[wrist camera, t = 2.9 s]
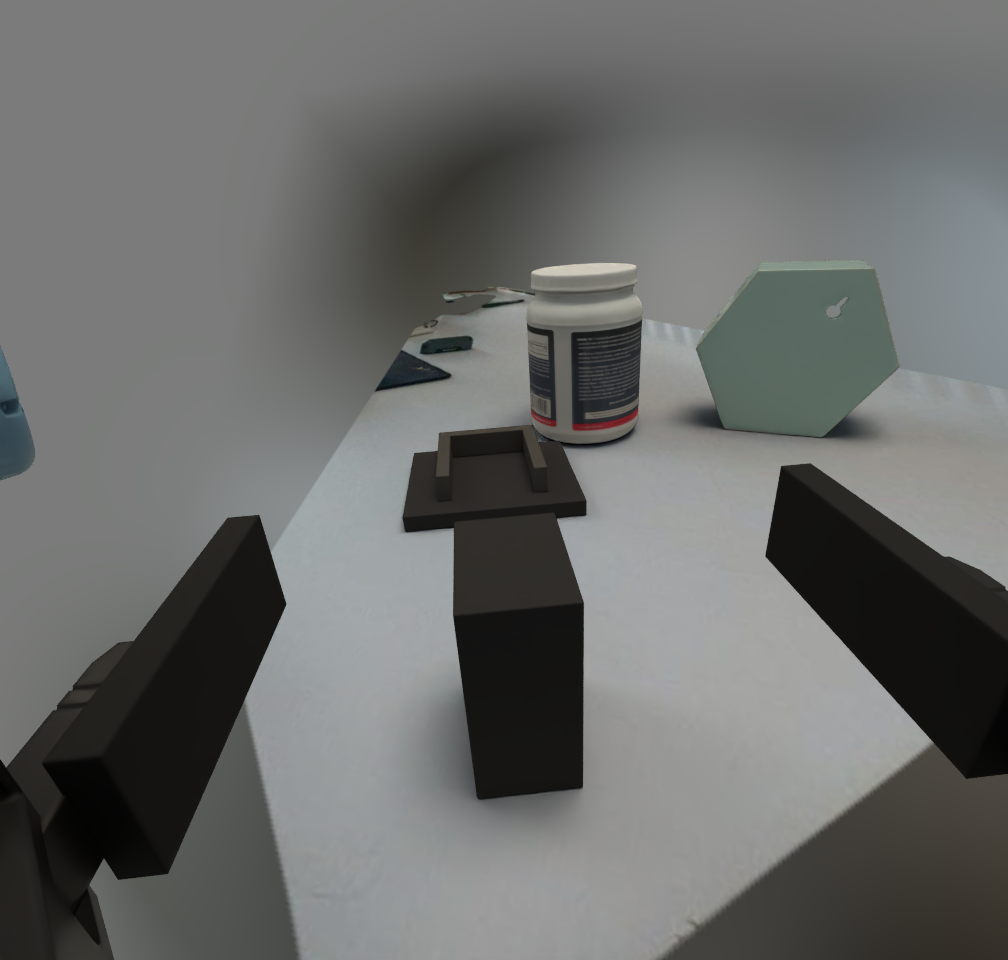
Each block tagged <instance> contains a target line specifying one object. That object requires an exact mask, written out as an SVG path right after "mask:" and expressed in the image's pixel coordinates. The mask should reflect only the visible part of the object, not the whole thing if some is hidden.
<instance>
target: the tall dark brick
mask: <svg viewBox="0 0 1008 960" xmlns="http://www.w3.org/2000/svg"><path fill="white" fill-rule="evenodd" d="M453 617H454V625H455V633H456V640H457V648H458V655H459V663H460V671H461V678H462V686H463V693H464V701H465V708H466V716H467V724H468V731H469V739H470V746H471V754H472V762H473V769H474V777H475V784H476V792H477V798H478V799H484V798H492V797H501V796H510V795H519V794H527V793H536V792H545V791H554V790H562V789H571V788H580V787H583V658H584V602H583V599H582V596H581V593H580V590H579V587H578V583H577V580H576V577H575V574H574V571H573V568H572V565H571V562H570V559H569V556H568V553H567V550H566V547H565V543H564V540H563V537H562V534H561V531H560V528H559V525H558V522H557V519H556V516H555V513H545V514H534V515H524V516H513V517H502V518H491V519H480V520H470V521H459V522H455V523H454V592H453Z"/></svg>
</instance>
